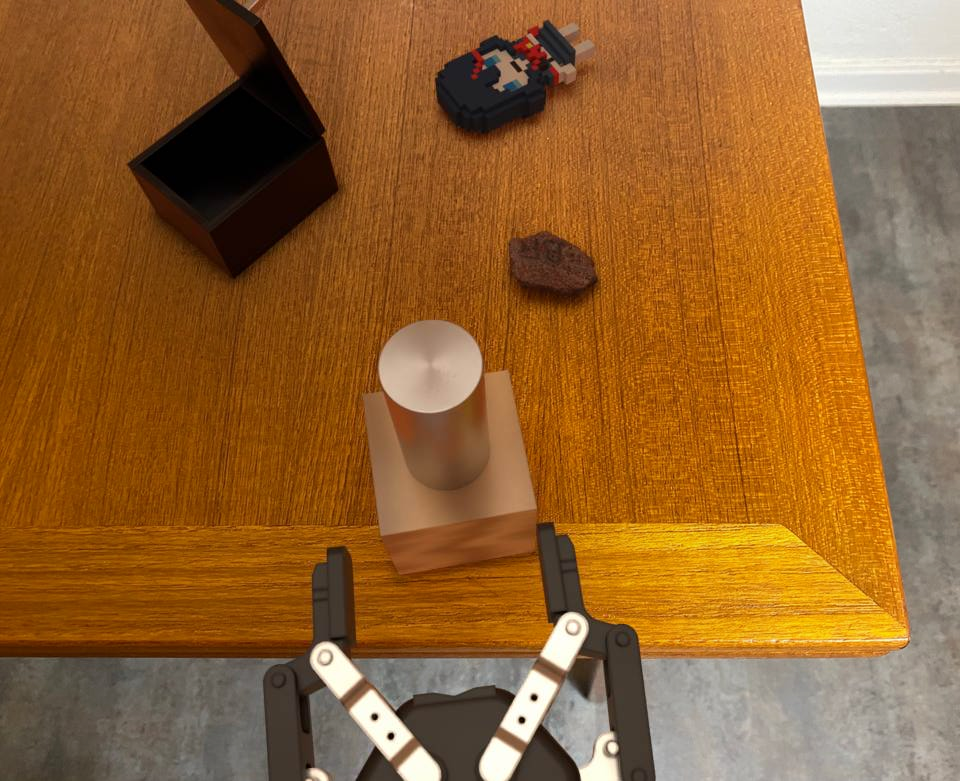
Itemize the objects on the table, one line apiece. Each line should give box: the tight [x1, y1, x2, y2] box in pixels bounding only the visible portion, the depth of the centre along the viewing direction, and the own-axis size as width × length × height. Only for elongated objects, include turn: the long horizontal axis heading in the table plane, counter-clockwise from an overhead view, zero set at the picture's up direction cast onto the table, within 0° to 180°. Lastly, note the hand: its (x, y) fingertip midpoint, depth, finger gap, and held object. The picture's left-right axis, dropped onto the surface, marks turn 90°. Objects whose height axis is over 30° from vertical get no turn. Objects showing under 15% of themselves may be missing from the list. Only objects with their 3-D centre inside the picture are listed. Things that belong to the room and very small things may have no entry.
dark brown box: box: [126, 77, 340, 280], centre depth 76 cm, size 13×11×7 cm
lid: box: [185, 0, 327, 137], centre depth 68 cm, size 13×11×5 cm
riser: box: [362, 369, 538, 576], centre depth 62 cm, size 10×10×10 cm
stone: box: [507, 230, 599, 299], centre depth 73 cm, size 7×7×3 cm
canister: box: [377, 318, 490, 490], centre depth 52 cm, size 6×6×12 cm
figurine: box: [434, 19, 596, 135], centre depth 82 cm, size 9×4×15 cm
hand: (441, 539), depth 36 cm, fingers open, 8 cm apart
